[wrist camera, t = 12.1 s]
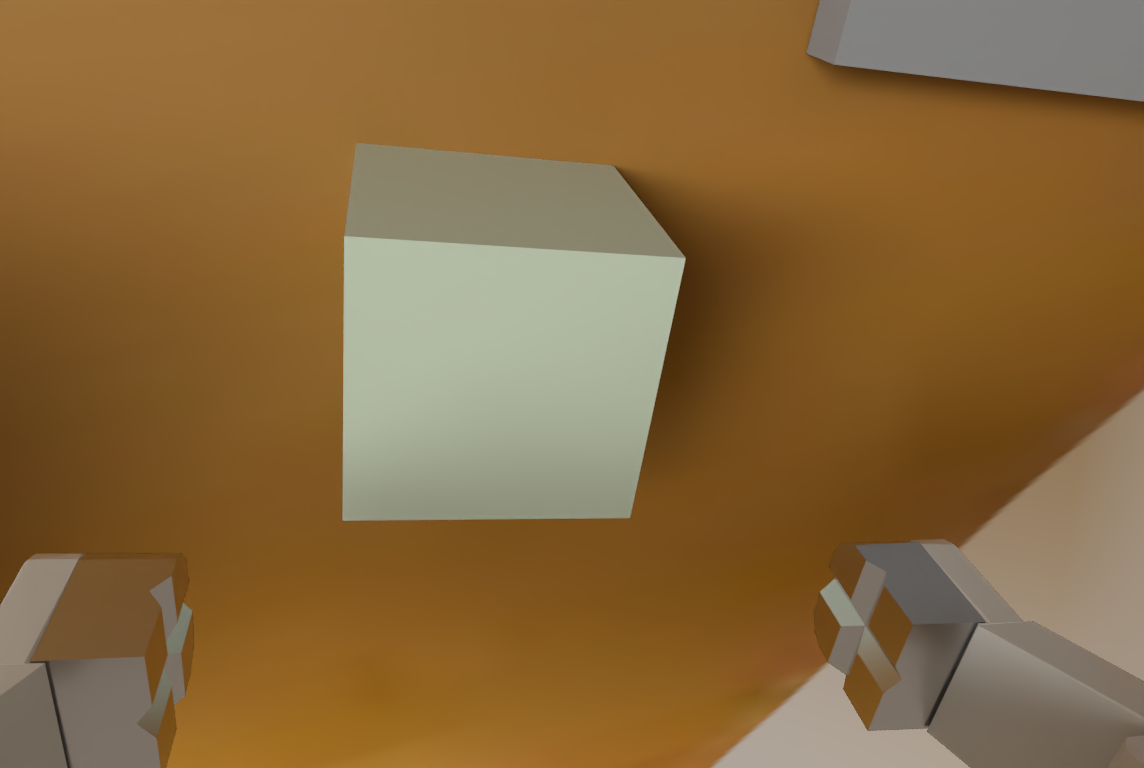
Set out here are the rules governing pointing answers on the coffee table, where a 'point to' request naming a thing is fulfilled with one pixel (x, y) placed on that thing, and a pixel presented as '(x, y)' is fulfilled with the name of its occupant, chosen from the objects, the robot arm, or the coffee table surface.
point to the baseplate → (992, 41)
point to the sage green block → (498, 336)
